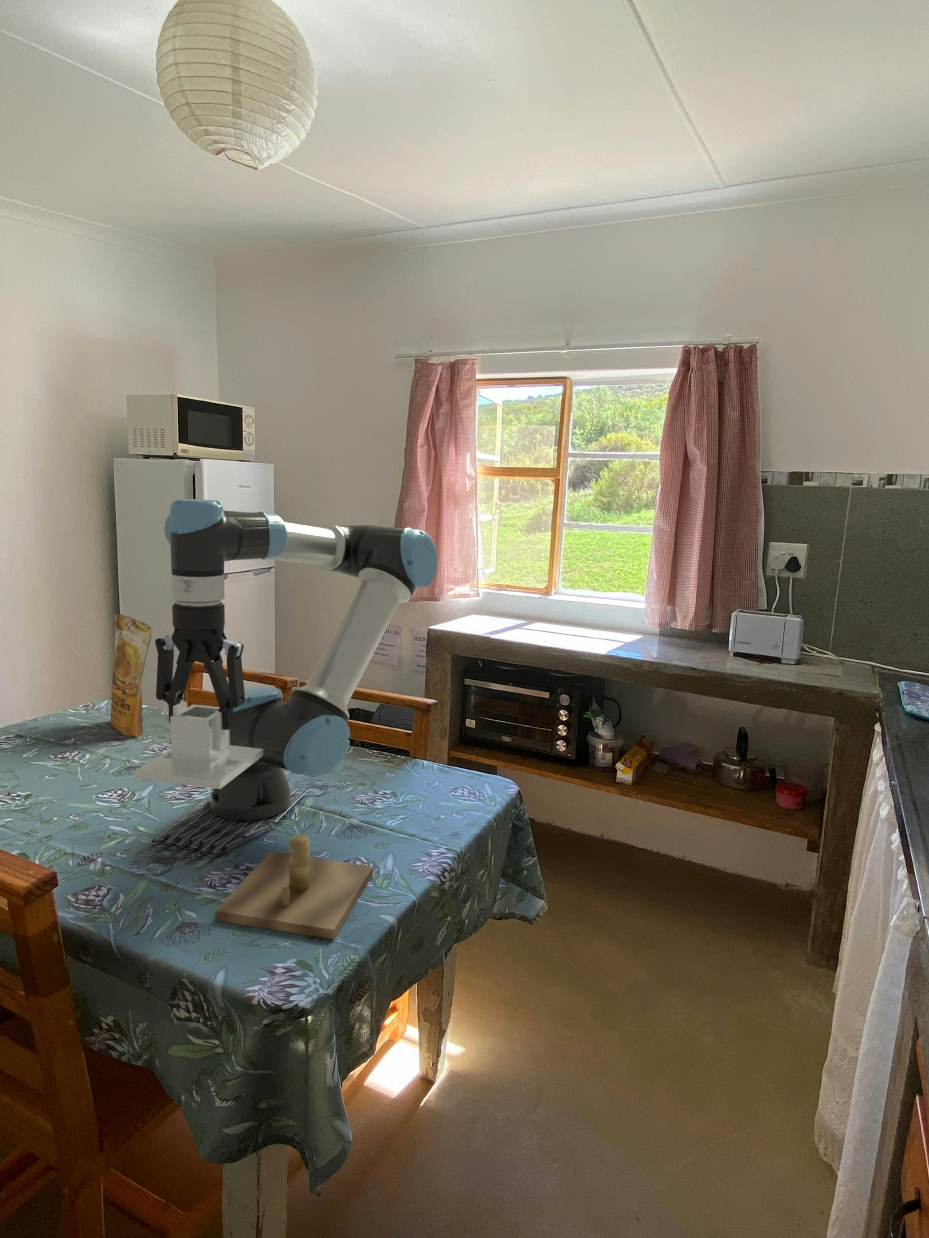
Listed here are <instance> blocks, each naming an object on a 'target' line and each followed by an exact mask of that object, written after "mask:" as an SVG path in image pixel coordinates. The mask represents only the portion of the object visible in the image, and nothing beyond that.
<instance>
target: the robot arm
mask: <svg viewBox="0 0 929 1238" xmlns="http://www.w3.org/2000/svg"><path fill="white" fill-rule="evenodd" d="M165 519H166V520H165V522H164V529H163V530H164V536H165V537H166V538H165V539H166V540H167V542H168V543H169V545H170V546H169V547H170V548H169V549H170V565H171V566H170V567H171V576H170V577H171V599H172V601H175V602H174V603H173V605H172V606H171V611H172V612H171V613H172V615H171V617H172V626H173V628H174V630H173V633H172V634H171V635H165V636H162V637H158V638H155V641H154V643H155V647H156V650H157V667H156V671H157V672H156V687H155V688H156V691H155V698H156V699H157V700H158V701H164V702H165V703H167V705H168V722H169V724H170V725H171V720H170V716H172V715H174V714H176V713H178V712H180V711H182V710H184V709H186V708H187V707H188V702H187V701H183V700H185V697H183V696H184V694H185V690H186V688H187V684H188V681H189V677H190V674H191V671H192V668H193V665H194V664H195V663H196V662H197V663H200V664H203V667H204V669H205V670H206V671H207V673H208V676H209V679H210V681H211V683H210V684H211V685H212V689H213V691H214V694H215V698H216V700H217V704H218V707H220V708H219V709H217V710H216V711H215V728H216V751H222V750H223V749H225V748H226V747H228V746H229V729H230V745H233V746H241V747H250V748H259V749H263V756H262V757H261V758H260V759H258V760H257V761H256V762H254V763H253V764H252V765H251V766H249V767H248V768H247V769H245V770H244V771H243V772H242V773H240V774H239V775H238V776H236V777H235V778H234V779H233V780H231V781H230V782H229V783H227V784H226V785H225V786H224V787H222V788H221V789H215V788H212V791H211V795H210V810H211V811H212V813H213V814H215V815H217V817H218V816H219V817H220V818H223V819H228V820H233V821H255V820H256V821H257V820H262V819H266V818H270V817H274V816H275V815H278V814H280V813H283V812H284V811H285V810H287V809H288V808H289V807H290V805H291V802H292V801H291V800H292V798H291V797H292V794H291V793H292V792H291V787H290V784H289V782H288V781H289V780H288V779H287V776H286V773H285V770H286V771H289V772H290V773H292V774H293V775H298V776H304V777H309V778H319V777H322V776H324V775H327V774H329V773H331V772H332V771H333V770H335V769H336V767H338V766H339V764H341V762H342V761H343V759H344V757H345V756H346V754H347V752H348V750H349V746H350V743H351V742H350V740H349V738H350V737H351V731H350V727H349V724H348V723H347V722H348V721H349V719H350V713H349V711H348V707H347V705H348V704H349V701H350V699H351V698H352V695H353V694H354V692H355V690H356V688H357V686H358V684H359V683H360V680H361V678H362V676H363V675H364V673H365V671H366V669H367V667H368V665H369V663H370V661H371V659H372V658H373V655H374V653H375V652H376V650H377V647H378V645H379V644H380V642H381V640H382V638H383V636H384V634H385V632H386V630H387V628H388V626H389V624H390V623H391V620H392V618H393V617H394V614H395V613H396V611H397V608H398V607H399V605H400V604H404V603H407V602H409V601H410V600H411V597H412V596H413V594H414V592H415V590H416V589H417V588H418V589H422V588H425V587H429V585H431V584H432V582H433V581H434V580H435V576H436V574H437V571H438V553H437V551H438V550H437V547H436V545H435V542H434V540H433V538H432V537H431V536H430V535H429V534H428V533H427V532H425V531H424V530H420V529H413V528H411V527H405V528H401V527H391V526H381V525H374V524H373V525H372V524H371V525H370V524H360V525H359V524H358V525H357V524H354V525H339V524H337V525H336V524H331V523H327V524H322V525H321V526H319V527H318V526H312V525H307V524H306V525H305V524H301V523H300V524H298V523H294V522H289V521H287V522H286V521H284V519H282V518H281V516H279V515H278V514H276V513H273V512H264V511H257V512H249V511H247V512H244V511H236V510H235V511H233V510H224V505H223V503H222V501H220V500H217V499H216V500H214V499H196V498H195V499H194V498H193V499H192V498H191V499H190V498H189V499H188V498H179V499H175V500H173V501H172V503H171V504H170V510H169V514H168V515H167V517H166V518H165ZM243 560H244V561H245V560H267V561H269V560H270V561H280V562H289V563H299V564H309V565H315V566H316V567H317V568H319V569H320V570H322V571H329V572H330V571H331V572H336V573H340V574H343V575H346V576H350V577H353V578H358V579H359V580H360V585H359V588H358V589H357V591H356V592H355V595H354V597H353V598H352V600H351V602H350V604H349V606H348V607H347V609H346V611H345V613H344V615H343V616H342V618H341V620H340V622H339V623H338V626H337V628H336V630H335V631H334V633H333V635H332V636H331V638H330V640H329V642H328V644H327V646H326V647H325V649H324V651H323V652H322V654H321V656H320V658H319V660H318V662H317V664H316V665H315V668H314V669H313V671H312V673H311V675H310V676H309V678H308V679H307V682H306V683H305V685H304V686H303V685H302V686H300V687H299V686H298V687H297V688H294V689H293V690H292V692H291V694H290V696H289V698H288V699H287V701H286V702H285V701H283V698H284V695H283V692H282V690H281V689H280V688H278V687H271V686H270V687H269V686H264V687H263V686H262V687H249V688H245V683H244V672H243V663H242V662H243V661H242V655H243V652H244V648H245V645H244V643H243V642H242V641H239V642H234V641H231V640H228V638H227V636H226V634H225V631H224V629H225V624H226V621H225V620H226V619H225V618H226V615H225V612H226V611H225V604H224V603H223V602H222V601H223V600H224V599H226V598H225V595H226V594H225V562H230V561H243ZM175 647H176V649H177V651H178V652H179V653H178V656H177V659H176V667H175V670H174V659H175V658H174V657H175V656H174V655H175V651H174V649H175ZM223 649H224V655H225V656H226V672H227V673H225V669H224V666H223V663H224V661H223V660H224V659H223V657H222V654H221V651H223ZM174 671H175V672H174ZM226 674H227V675H226ZM244 688H245V689H244Z"/></svg>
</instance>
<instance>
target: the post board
mask: <svg viewBox="0 0 929 1238" xmlns="http://www.w3.org/2000/svg"><path fill="white" fill-rule="evenodd" d="M310 842H311V839H310V836H309V835H307V834H303V833H299V834H294V835H292V836H290V838H289V854H288V853H282V852H275V851H270V852H268V853H267V854H266V855H265V857H263V858H262V860H261V861H260V862H259V863H258V864H257V866H255V868H253V870H252V871H250V873H249V874H248V875H247V876H246V877H245V879H243V880H242V882H241V883H240V884H239V885H238V886H237V887H235V889H234V890H233V891H232V892H231V893H230V894H229V895H228V897H226V899H225V900H223V902H222V903H221V904H220V905H219V906H218V907H217V909H215V913H214V915H215V917H214V918H215V919H214V920H215V921H218V922H225V923H228V924H229V923H230V924H237V925H242V926H249V927H255V928H259V929H260V928H261V929H265V930H266V929H267V930H274V931H279V932H285V933H291V934H298V935H304V936H309V937H310V936H311V937H315V938H316V937H317V938H323V939H329V940H335V938H336V936H337V934H338V933H339V932H340V929H341V928H342V927H343V925H344V923H345V922H346V919H348V916H349V915H350V913H351V911H352V910H353V908H354V907H355V905H356V903H357V901H358V900H359V899H360V897H361V895H362V894H363V892H364V890H365V889H366V887H367V885H368V883H369V881H370V880H371V878H372V877H373V875H374V874H373V873H374V866H373V865H366V864H360V863H351V862H346V861H340V860H339V861H338V860H331V859H326V858H324V859H323V858H317V857H311V856H310V854H311V853H310V852H311V851H310V844H311V843H310Z"/></svg>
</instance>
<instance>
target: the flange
mask: <svg viewBox="0 0 929 1238" xmlns="http://www.w3.org/2000/svg"><path fill="white" fill-rule="evenodd" d="M219 708H220V707H219V706H211V705H203V704H202V705H201V704H191V705H190V706H187V708H186V709H184V710H182V711H180V712H178V713H176V714H174V715H172V716H170V720H171V724H170V744H171V745H170V747H171V748H170V749H168V750H167V751H165V752H163V753H162V754H160V755H159V756H157V757H155V758H153V759H152V760H150V761H148V762H147V763H145V764H144V765H142V766H140V767H139V768H136V769H134V773H133V774H134V779H136V780H137V779H138V780H143V781H144V780H145V781H146V780H147V781H152V782H153V781H154V782H161V783H169V784H177V785H185V786H193V787H200V788H207V789H213V788H215V789H221V788H222V787H224V786H225V785H226V784H227V783H229V782H230V781H231V780H233V779H234V778H235V777H236V776H238V775H239V774H240V773H242V772H243V771H244V770H245V769H247V768H248V767H249V766H251V765H252V764H253V763H254V762H256V761H257V760H258V759H260V758H261V757H262V756H263V749H259V748H250V747H241V746H233V745H230V729H229V746H228V747H226V748H225V749H223V750H222V751H216V728H215V711H216V710H217V709H219Z"/></svg>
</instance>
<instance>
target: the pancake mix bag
mask: <svg viewBox="0 0 929 1238" xmlns="http://www.w3.org/2000/svg"><path fill="white" fill-rule="evenodd" d="M113 619H114V645H113V650H114V651H113V654H114V655H113V656H114V657H113V667H112V684H111V686H112V687H111V697H110V698H111V699H110V700H111V703H110V714H109V716H110V719H109V720H110V724H111V726H112V727H113V728H114V729H115V730H116V731H119V733H120V734H122V735H123V736H125V737H134V738H138V737H140V736H142V735H143V733H144V732H143V731H144V730H143V720H144V719H143V697H142V694H143V693H142V682H143V681H142V680H143V676H144V671H145V665H146V659H147V654H148V649H149V646H150V644H151V639H152V635H153V628H152V627H150V625H149V624H148V623H145V622H143V621H140V620H137V619H136V618H132V617H130V616H126V615H124V614H119V613H117V614H114V615H113Z"/></svg>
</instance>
